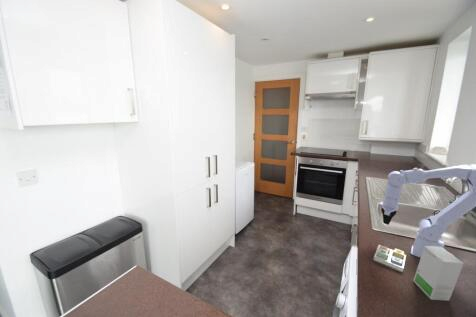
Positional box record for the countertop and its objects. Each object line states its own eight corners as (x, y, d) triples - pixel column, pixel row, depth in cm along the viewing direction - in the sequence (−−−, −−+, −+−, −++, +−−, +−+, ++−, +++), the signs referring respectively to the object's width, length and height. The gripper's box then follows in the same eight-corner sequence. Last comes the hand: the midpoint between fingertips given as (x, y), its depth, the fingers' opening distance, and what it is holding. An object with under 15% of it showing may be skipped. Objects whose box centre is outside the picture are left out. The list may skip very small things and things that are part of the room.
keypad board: (405, 259, 91) (406, 255, 91) (402, 272, 83) (403, 268, 83) (378, 248, 98) (378, 244, 97) (373, 260, 90) (374, 256, 89)
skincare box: (412, 281, 79) (422, 244, 76) (430, 282, 79) (441, 245, 75) (431, 300, 71) (443, 261, 67) (451, 302, 71) (464, 262, 67)
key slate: (401, 264, 87) (402, 259, 86) (400, 268, 84) (401, 263, 84) (391, 260, 89) (393, 255, 88) (390, 264, 87) (391, 259, 86)
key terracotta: (388, 252, 94) (389, 248, 93) (387, 256, 91) (388, 251, 91) (380, 249, 96) (381, 245, 95) (378, 252, 93) (379, 248, 93)
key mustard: (403, 255, 90) (404, 251, 90) (402, 259, 88) (403, 254, 87) (394, 252, 92) (395, 247, 92) (393, 256, 90) (394, 251, 89)
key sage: (387, 256, 90) (388, 251, 89) (386, 259, 87) (387, 255, 87) (378, 252, 92) (379, 248, 91) (377, 256, 90) (378, 251, 89)
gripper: (384, 190, 105) (379, 215, 108) (378, 199, 94) (373, 226, 98) (401, 194, 100) (395, 220, 104) (398, 204, 90) (391, 232, 93)
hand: (386, 223), depth 100 cm, fingers closed
